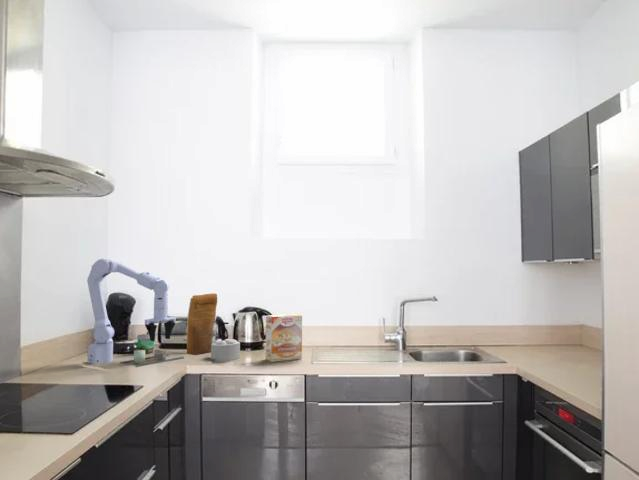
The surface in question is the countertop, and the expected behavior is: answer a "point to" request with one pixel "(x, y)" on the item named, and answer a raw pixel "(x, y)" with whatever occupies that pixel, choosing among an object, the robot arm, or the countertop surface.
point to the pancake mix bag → (201, 323)
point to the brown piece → (157, 357)
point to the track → (152, 362)
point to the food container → (145, 343)
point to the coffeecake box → (283, 337)
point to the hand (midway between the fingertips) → (160, 339)
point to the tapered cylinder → (139, 356)
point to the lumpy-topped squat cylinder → (225, 350)
